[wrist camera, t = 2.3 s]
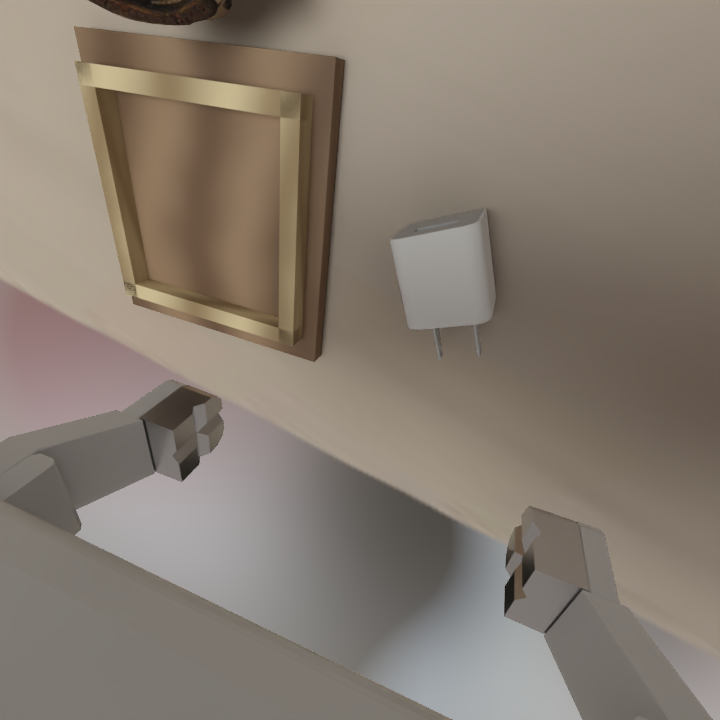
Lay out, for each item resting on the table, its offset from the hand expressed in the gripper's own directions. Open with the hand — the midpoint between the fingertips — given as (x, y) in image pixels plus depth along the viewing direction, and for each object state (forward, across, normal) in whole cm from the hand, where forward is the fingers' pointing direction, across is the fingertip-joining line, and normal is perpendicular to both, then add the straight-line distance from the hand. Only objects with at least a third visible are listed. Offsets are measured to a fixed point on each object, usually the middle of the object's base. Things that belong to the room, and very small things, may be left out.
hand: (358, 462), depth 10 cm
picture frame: (+14, +14, -1) cm, 20 cm away
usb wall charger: (+14, -1, 0) cm, 14 cm away
